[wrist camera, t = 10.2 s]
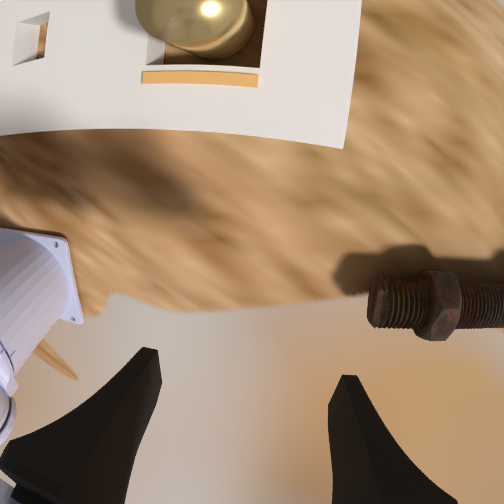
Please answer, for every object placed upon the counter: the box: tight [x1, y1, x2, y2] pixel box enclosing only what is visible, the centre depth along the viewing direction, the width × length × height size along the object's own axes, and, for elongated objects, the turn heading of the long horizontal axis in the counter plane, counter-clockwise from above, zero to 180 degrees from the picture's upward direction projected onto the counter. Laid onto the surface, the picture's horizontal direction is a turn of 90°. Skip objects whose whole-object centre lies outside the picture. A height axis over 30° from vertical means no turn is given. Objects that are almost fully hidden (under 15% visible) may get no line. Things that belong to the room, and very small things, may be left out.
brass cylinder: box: [135, 0, 254, 59], centre depth 11 cm, size 4×4×6 cm
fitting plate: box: [0, 0, 362, 149], centre depth 13 cm, size 24×12×3 cm, turn 84°
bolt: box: [367, 271, 504, 341], centre depth 18 cm, size 6×5×15 cm
